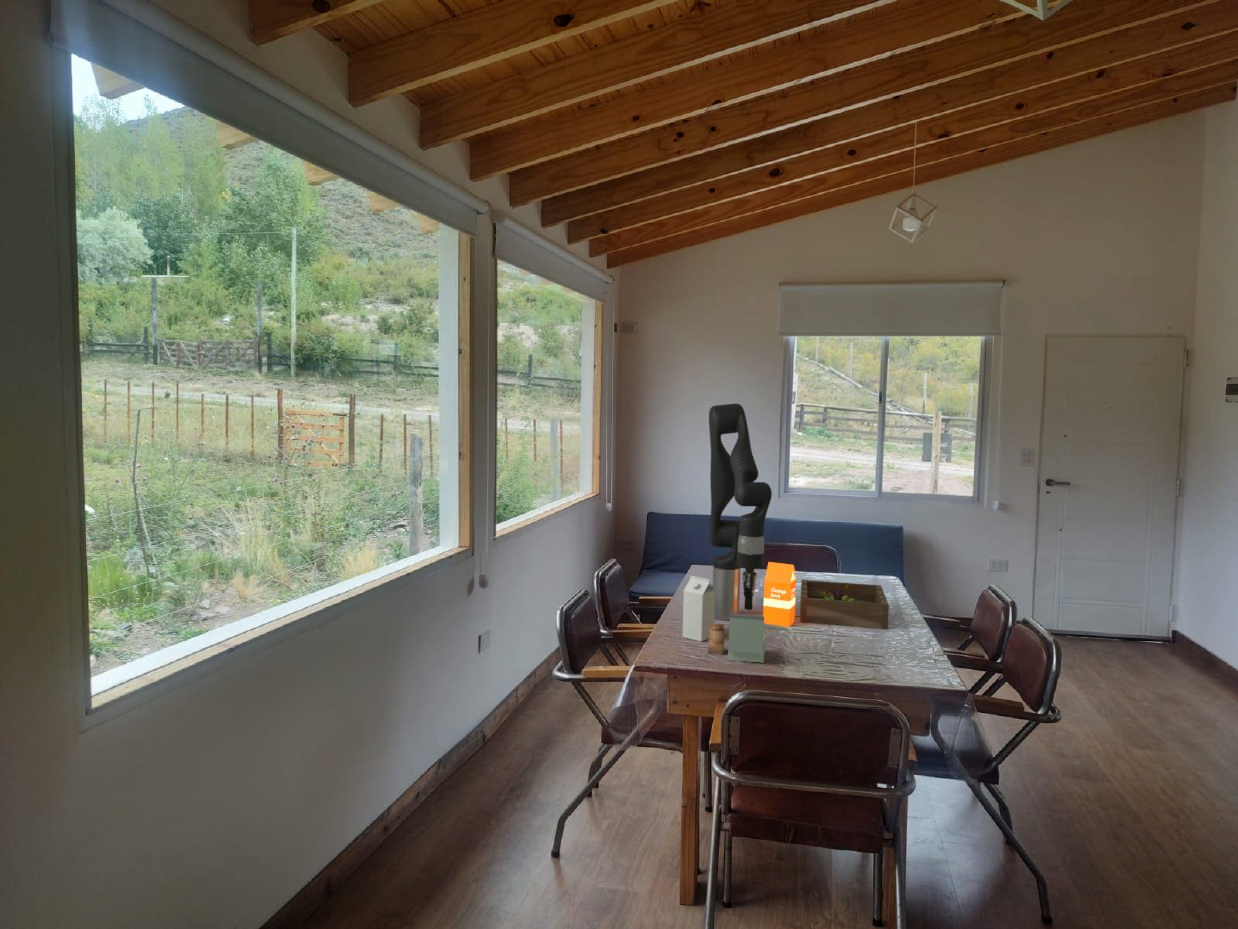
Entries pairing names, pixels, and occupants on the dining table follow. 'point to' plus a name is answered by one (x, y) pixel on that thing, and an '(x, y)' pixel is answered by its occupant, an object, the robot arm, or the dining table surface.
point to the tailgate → (746, 633)
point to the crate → (747, 655)
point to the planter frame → (844, 605)
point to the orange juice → (779, 594)
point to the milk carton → (698, 608)
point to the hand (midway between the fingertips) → (748, 609)
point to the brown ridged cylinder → (716, 639)
